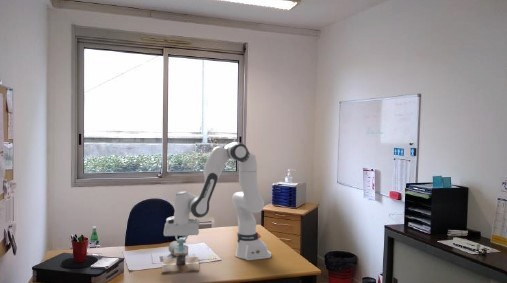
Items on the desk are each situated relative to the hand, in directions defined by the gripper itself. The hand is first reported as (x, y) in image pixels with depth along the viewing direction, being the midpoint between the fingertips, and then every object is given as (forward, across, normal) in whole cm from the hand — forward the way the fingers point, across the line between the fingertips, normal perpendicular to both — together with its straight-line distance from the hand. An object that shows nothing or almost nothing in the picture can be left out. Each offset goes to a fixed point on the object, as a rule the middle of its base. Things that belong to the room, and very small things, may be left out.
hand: (181, 242), depth 215 cm
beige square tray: (+12, 0, +6) cm, 13 cm away
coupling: (+4, 0, +6) cm, 7 cm away
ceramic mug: (+12, +2, -13) cm, 18 cm away
